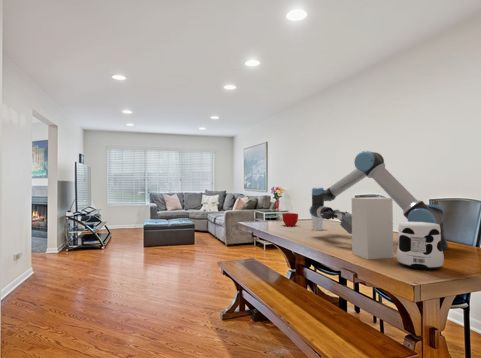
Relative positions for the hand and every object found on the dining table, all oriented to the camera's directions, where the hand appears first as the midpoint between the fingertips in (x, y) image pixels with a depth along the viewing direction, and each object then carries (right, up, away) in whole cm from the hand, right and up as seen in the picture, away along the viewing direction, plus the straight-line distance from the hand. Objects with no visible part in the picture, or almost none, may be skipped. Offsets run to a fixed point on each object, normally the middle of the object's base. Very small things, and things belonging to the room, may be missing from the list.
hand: (346, 216), depth 172 cm
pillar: (+5, -16, -21) cm, 27 cm away
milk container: (+17, -16, -41) cm, 47 cm away
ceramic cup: (-16, -18, +88) cm, 92 cm away
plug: (-1, -4, +2) cm, 5 cm away
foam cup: (0, -18, +64) cm, 66 cm away
